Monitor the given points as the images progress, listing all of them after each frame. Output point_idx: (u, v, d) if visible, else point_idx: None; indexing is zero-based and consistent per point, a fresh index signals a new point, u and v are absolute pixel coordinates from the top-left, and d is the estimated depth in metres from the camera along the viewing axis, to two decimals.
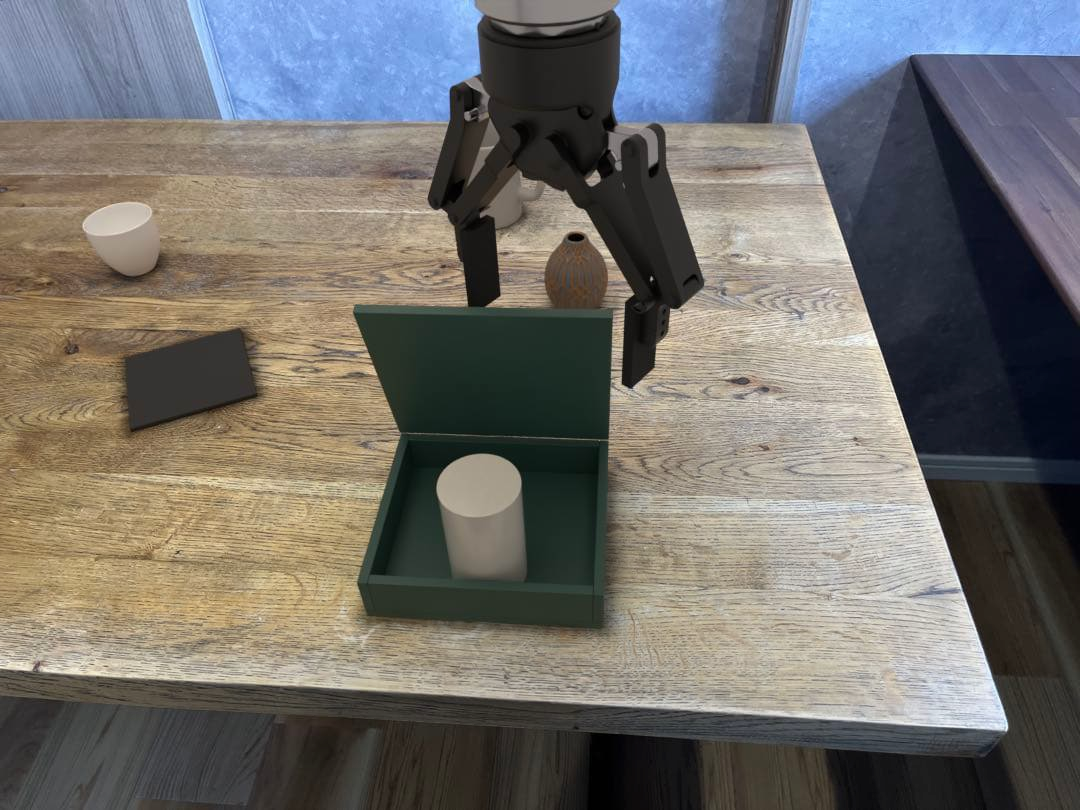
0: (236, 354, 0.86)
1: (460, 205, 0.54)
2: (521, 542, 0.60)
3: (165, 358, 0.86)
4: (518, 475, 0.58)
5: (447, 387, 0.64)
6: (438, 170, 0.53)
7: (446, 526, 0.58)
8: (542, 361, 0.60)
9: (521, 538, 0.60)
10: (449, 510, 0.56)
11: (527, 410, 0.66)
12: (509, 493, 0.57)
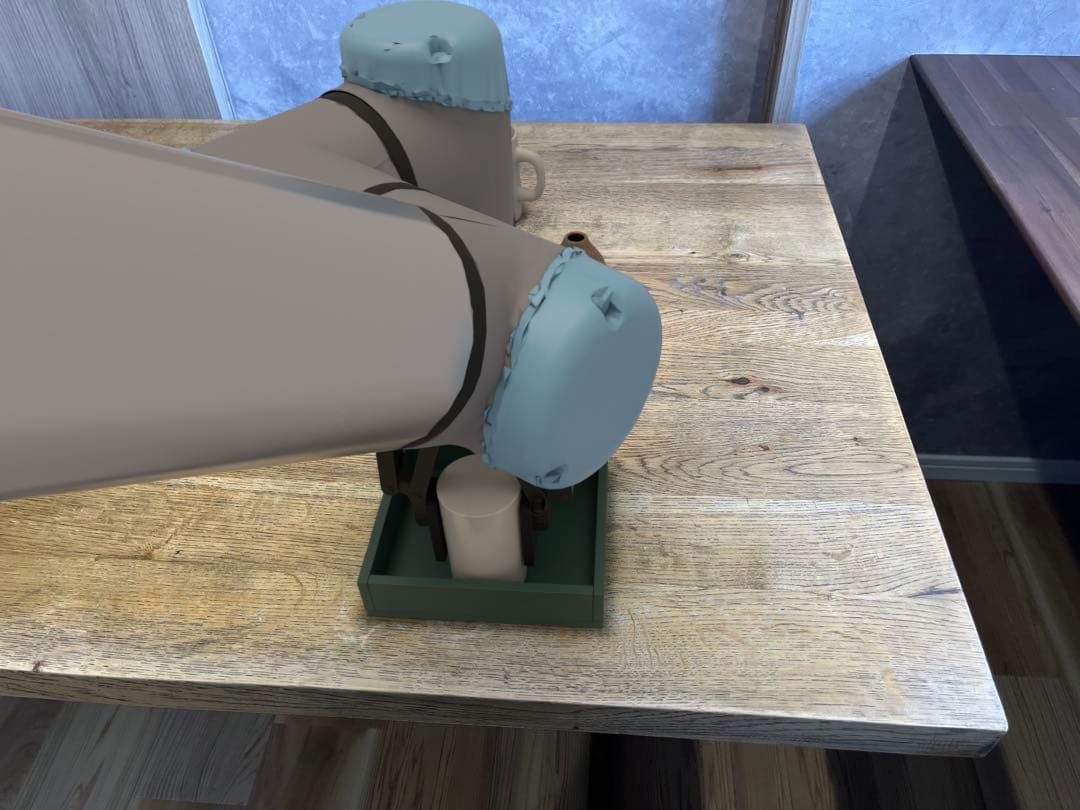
0: None
1: (416, 484, 0.56)
2: (521, 542, 0.60)
3: None
4: None
5: None
6: (380, 463, 0.55)
7: (446, 526, 0.58)
8: None
9: (521, 538, 0.60)
10: (449, 510, 0.56)
11: None
12: (509, 493, 0.57)
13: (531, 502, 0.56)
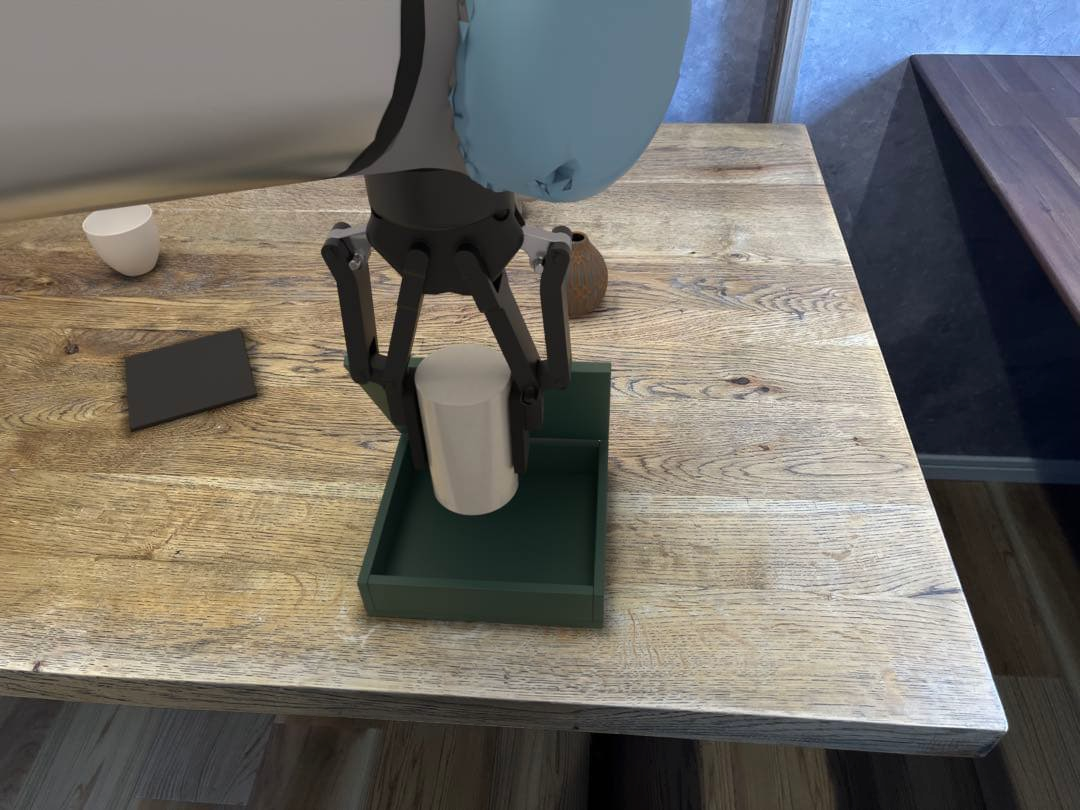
0: (236, 354, 0.86)
1: (391, 369, 0.49)
2: (511, 445, 0.53)
3: (165, 358, 0.86)
4: None
5: None
6: (349, 341, 0.48)
7: (425, 422, 0.51)
8: None
9: (511, 440, 0.53)
10: (428, 398, 0.49)
11: None
12: (497, 382, 0.50)
13: (522, 391, 0.49)
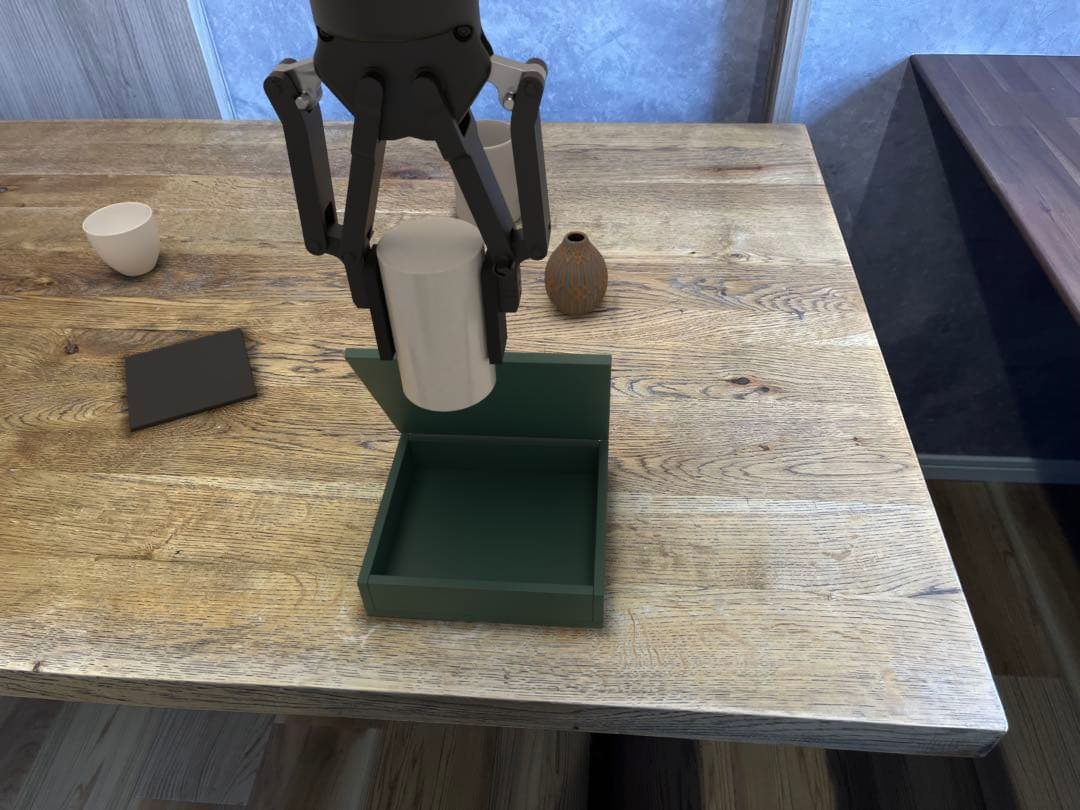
0: (236, 354, 0.86)
1: (349, 235, 0.44)
2: (485, 330, 0.48)
3: (165, 358, 0.86)
4: (480, 235, 0.46)
5: None
6: (301, 201, 0.43)
7: (389, 299, 0.46)
8: (540, 391, 0.59)
9: (485, 324, 0.48)
10: (389, 267, 0.44)
11: (526, 421, 0.65)
12: (468, 251, 0.45)
13: (495, 262, 0.44)
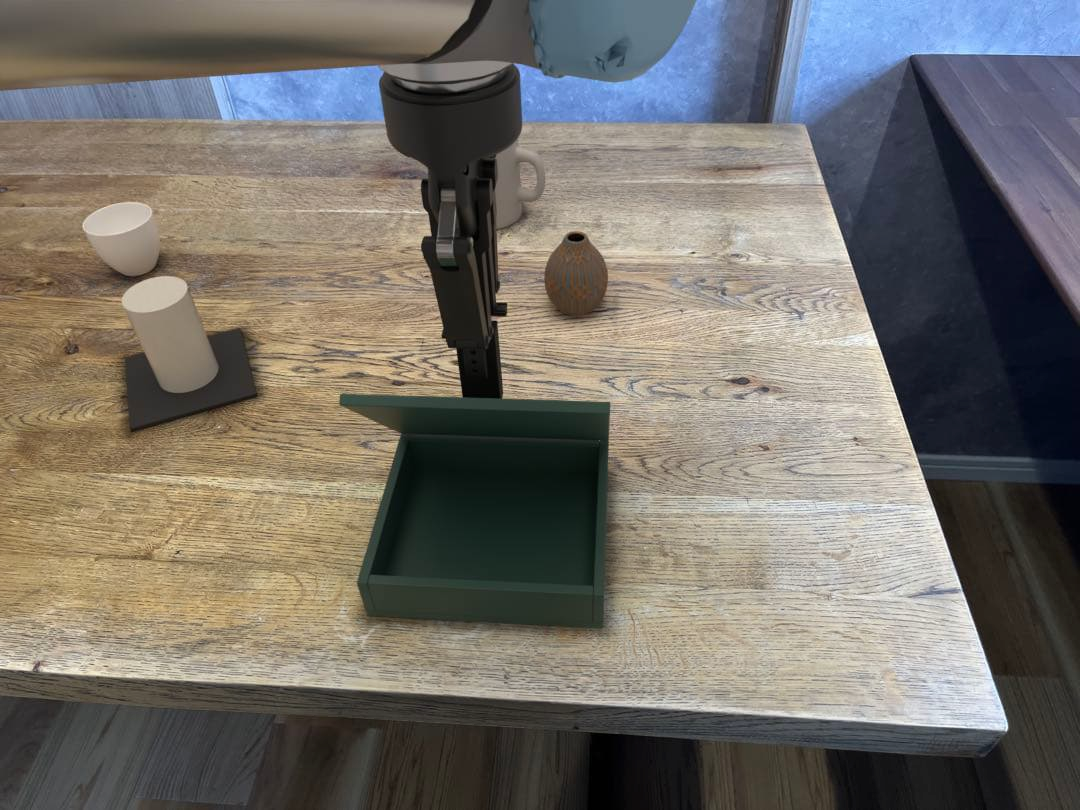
0: (236, 354, 0.86)
1: (488, 315, 0.52)
2: (197, 343, 0.80)
3: None
4: (185, 288, 0.78)
5: (443, 425, 0.63)
6: (481, 316, 0.49)
7: (132, 326, 0.78)
8: (538, 421, 0.58)
9: (196, 340, 0.80)
10: (125, 308, 0.76)
11: (526, 432, 0.65)
12: (174, 298, 0.76)
13: (494, 310, 0.55)
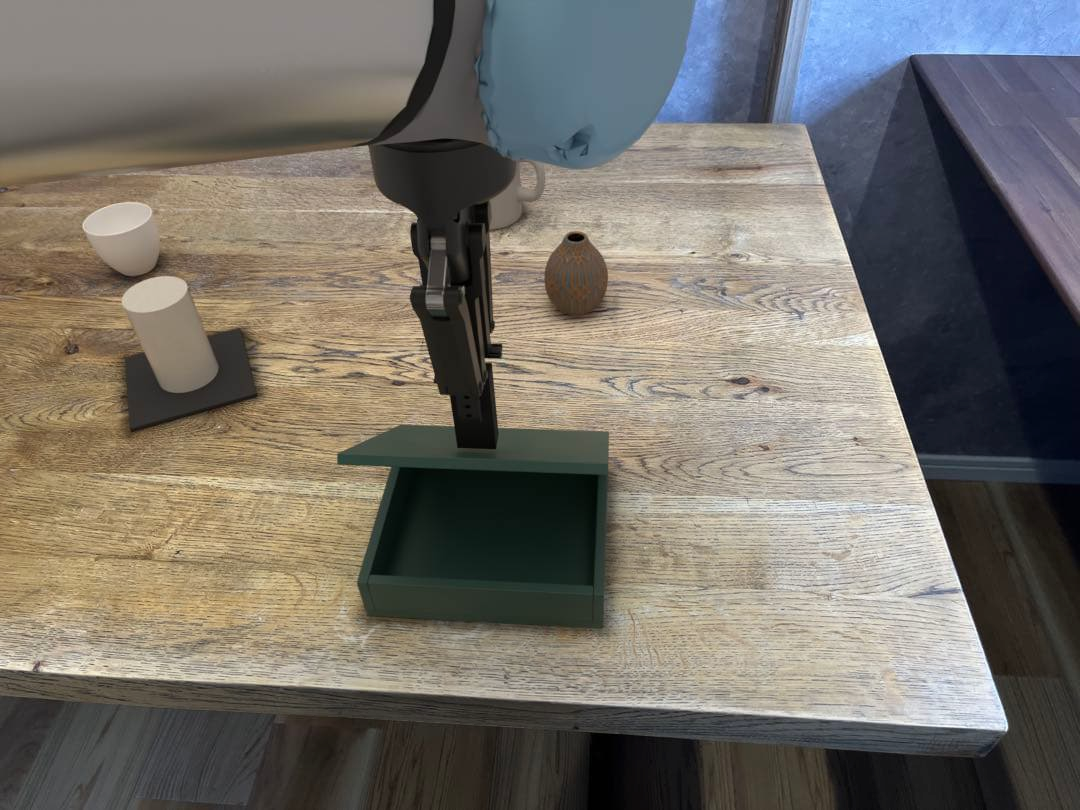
0: (236, 354, 0.86)
1: (482, 360, 0.50)
2: (197, 343, 0.80)
3: None
4: (185, 288, 0.78)
5: None
6: (474, 364, 0.47)
7: (132, 326, 0.78)
8: None
9: (196, 340, 0.80)
10: (125, 308, 0.76)
11: None
12: (174, 298, 0.76)
13: (488, 353, 0.52)
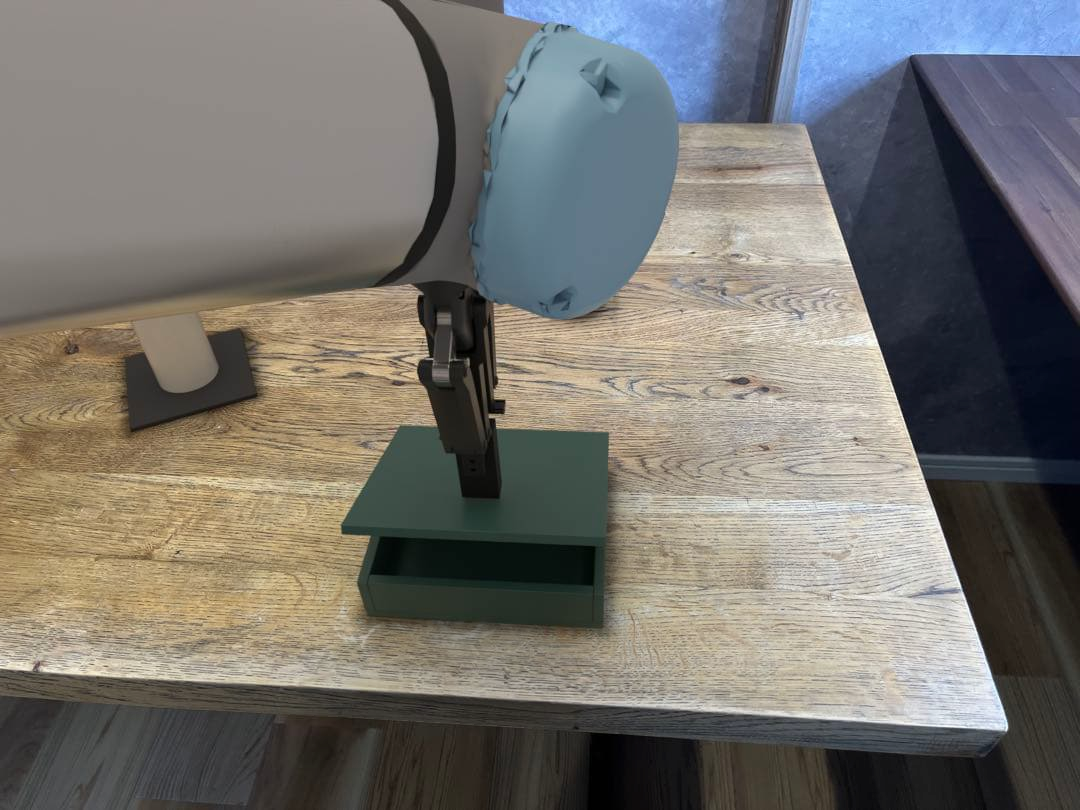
0: (236, 354, 0.86)
1: (486, 419, 0.52)
2: (197, 343, 0.80)
3: None
4: None
5: None
6: (478, 427, 0.49)
7: (132, 326, 0.78)
8: None
9: (196, 340, 0.80)
10: None
11: None
12: None
13: (492, 409, 0.54)
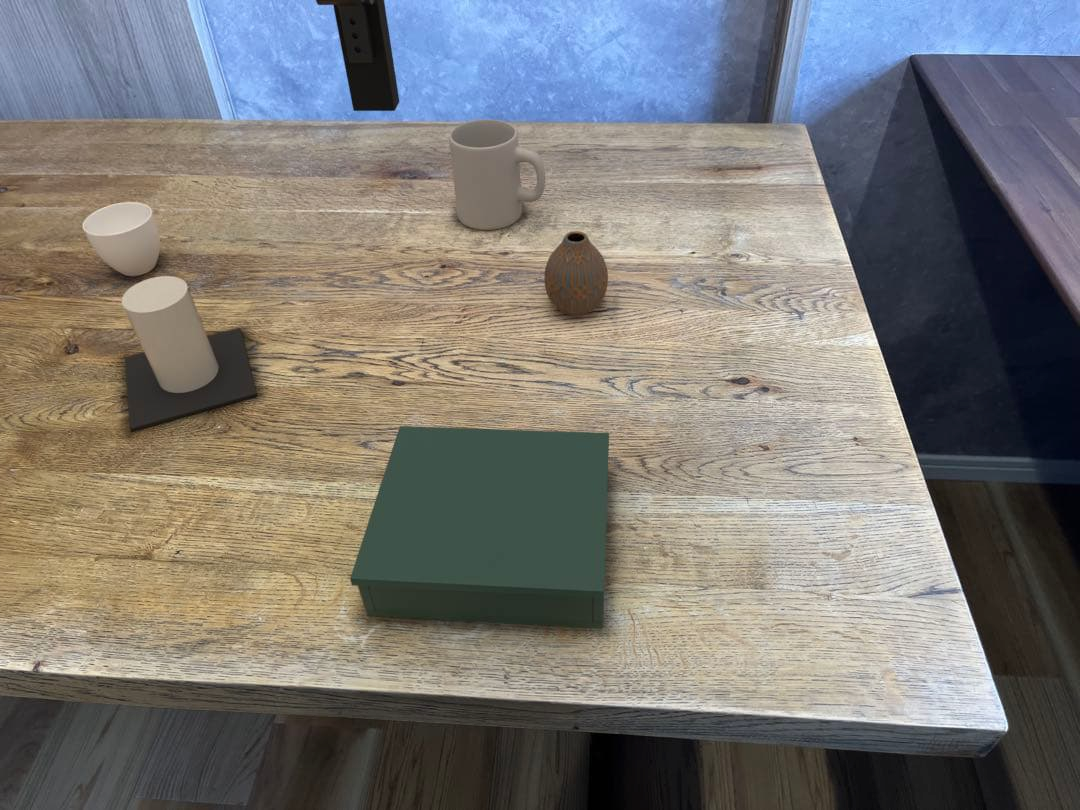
0: (236, 354, 0.86)
1: None
2: (197, 343, 0.80)
3: None
4: (185, 288, 0.78)
5: None
6: None
7: (132, 326, 0.78)
8: None
9: (196, 340, 0.80)
10: (125, 308, 0.76)
11: None
12: (174, 298, 0.76)
13: None
